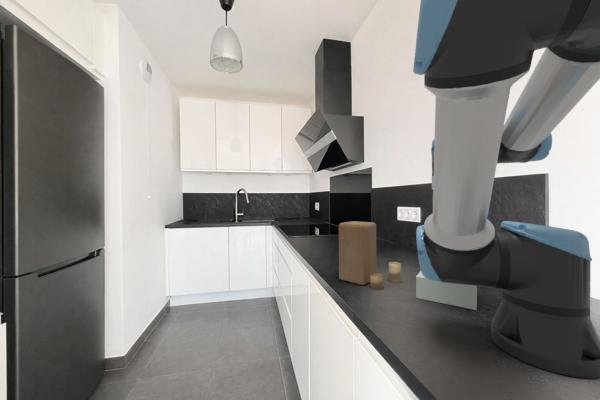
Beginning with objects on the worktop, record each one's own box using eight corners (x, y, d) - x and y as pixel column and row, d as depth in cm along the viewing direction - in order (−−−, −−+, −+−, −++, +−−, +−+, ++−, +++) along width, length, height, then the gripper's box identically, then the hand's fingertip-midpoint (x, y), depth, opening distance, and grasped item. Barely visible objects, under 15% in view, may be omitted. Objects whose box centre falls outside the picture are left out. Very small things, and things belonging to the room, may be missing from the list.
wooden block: (337, 279, 87) (337, 222, 87) (352, 273, 94) (352, 220, 94) (363, 286, 80) (363, 224, 80) (377, 279, 87) (377, 222, 87)
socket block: (476, 310, 62) (476, 286, 62) (416, 297, 70) (416, 276, 70) (476, 293, 74) (476, 272, 74) (424, 284, 82) (424, 265, 82)
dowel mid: (399, 283, 83) (399, 265, 83) (387, 281, 85) (387, 263, 85) (402, 280, 86) (402, 263, 86) (390, 278, 88) (390, 261, 88)
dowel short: (380, 290, 76) (380, 277, 76) (368, 288, 79) (368, 275, 79) (384, 286, 80) (384, 274, 80) (372, 284, 82) (372, 272, 82)
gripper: (459, 188, 60) (459, 276, 60) (464, 191, 80) (464, 257, 80) (424, 189, 64) (425, 271, 64) (437, 191, 84) (438, 254, 84)
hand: (447, 263), depth 72 cm, fingers open, 13 cm apart
